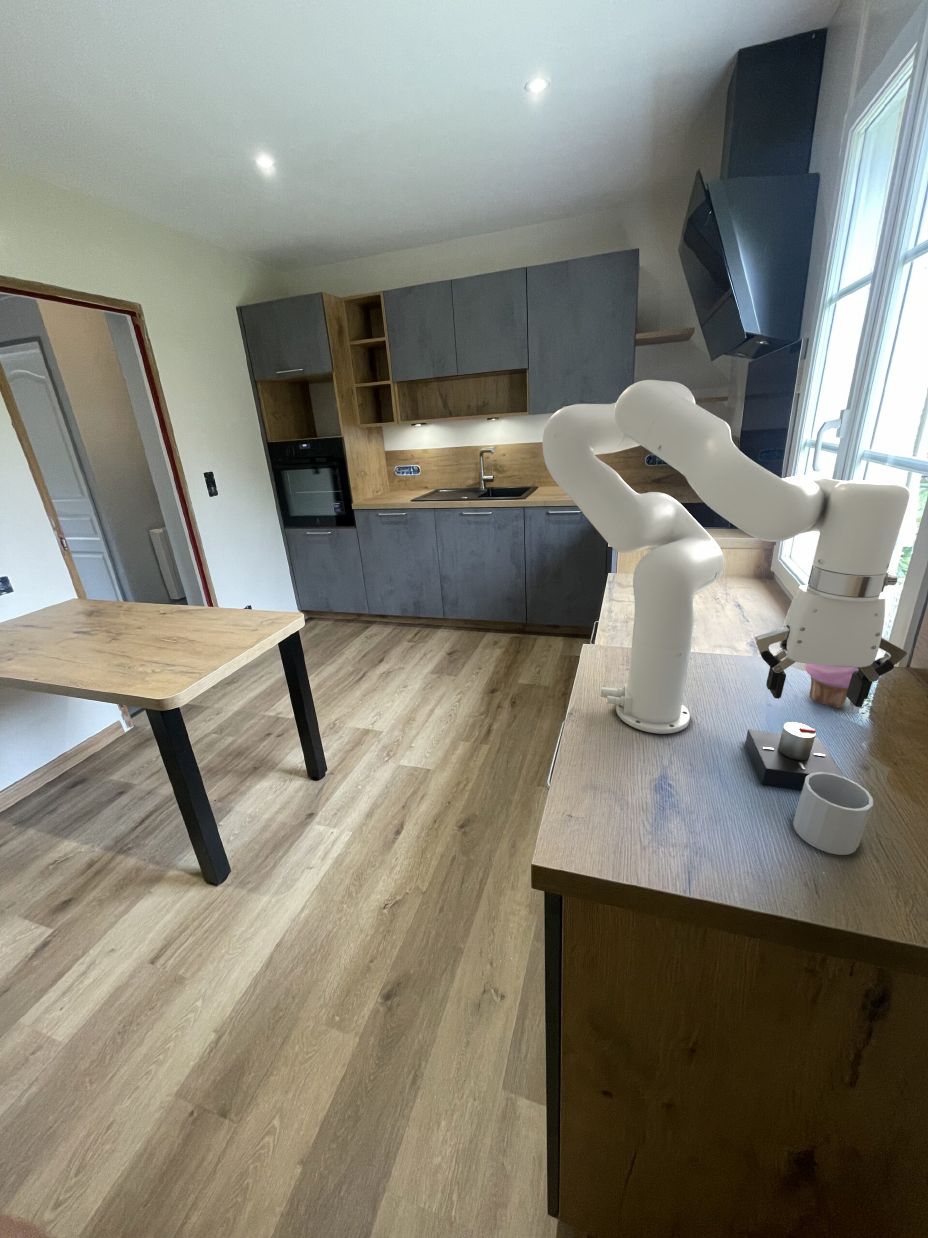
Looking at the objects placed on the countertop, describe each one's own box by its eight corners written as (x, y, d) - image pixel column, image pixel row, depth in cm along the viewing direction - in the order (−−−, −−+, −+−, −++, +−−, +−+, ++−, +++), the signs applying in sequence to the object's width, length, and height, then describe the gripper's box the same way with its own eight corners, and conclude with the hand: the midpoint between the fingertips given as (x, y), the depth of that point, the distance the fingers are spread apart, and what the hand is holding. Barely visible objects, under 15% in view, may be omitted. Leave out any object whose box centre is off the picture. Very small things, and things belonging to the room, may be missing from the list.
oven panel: (762, 785, 71) (766, 767, 70) (744, 744, 80) (748, 728, 79) (841, 796, 68) (847, 778, 67) (814, 753, 77) (818, 736, 76)
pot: (803, 849, 60) (817, 805, 58) (785, 810, 66) (797, 768, 64) (867, 860, 59) (884, 815, 56) (843, 819, 65) (857, 776, 62)
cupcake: (795, 703, 91) (808, 656, 87) (800, 684, 97) (812, 639, 93) (855, 719, 86) (871, 668, 82) (856, 698, 92) (870, 650, 88)
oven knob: (783, 758, 72) (789, 734, 70) (774, 742, 75) (780, 718, 74) (813, 762, 71) (821, 737, 69) (803, 746, 74) (810, 722, 73)
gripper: (910, 576, 63) (873, 691, 69) (760, 570, 67) (738, 678, 74) (945, 595, 56) (900, 720, 62) (776, 586, 61) (751, 704, 67)
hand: (813, 697), depth 68 cm, fingers open, 9 cm apart
